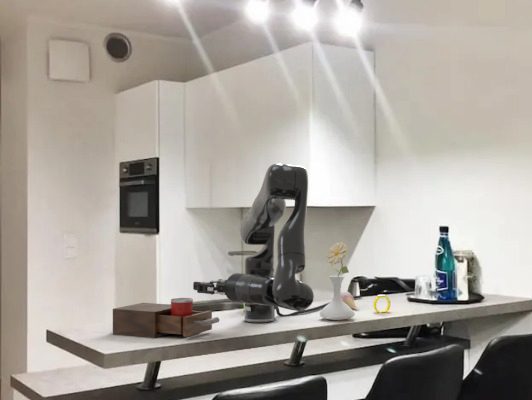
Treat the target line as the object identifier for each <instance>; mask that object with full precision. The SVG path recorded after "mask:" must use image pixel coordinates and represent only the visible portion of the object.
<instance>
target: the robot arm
mask: <svg viewBox="0 0 532 400" xmlns="http://www.w3.org/2000/svg"><path fill="white" fill-rule="evenodd" d="M308 193H309V174H308V171H307V169H306V168H305V167H304V166H303V165H298V164H288V163H273V164H271V165H269V166H268V168H267V170H266V172H265V175H264V178H263V180H262V184H261V187H260V189H259V191H258V194H257V195H256V197H255V198H254V200H253V202H252V204H251V207H250V209H249V211H248V212H247V213H246V214H245V215H244V217H243V218H242V219H241V222H240V226H239V237H240V240H241V242H242V243H243V244H245V245H247V246H262V248H261V249H260V250H259V251H258V252H256V253H254V254H252V255H251V254H250V255H249V256H246V257H245V259H244V273H239V272H236V273H232V274H231V275H230V276H228V278H227V279H224V278H219V279H218V280H217V279H215V280H213V279H212V280H210V281H193V284H192V289H193V290H194V291H196V293H198V294H206V295H221V296H226V298H227V299H228V301H230V302H232V303H238V304H244V321H245V322H247V323H257V324H259V323H261V324H262V323H271V322H274V321H275V317H276V316H275V315H277V316H278V317H280V318H283V317H285V318H286V317H293V316H297V315H301V314H307V313H310V312H315V311H318V310H322V309H323V308H324V307H325V306H326V305H328V304H329V303H330V302H331V301H329V302H326V303H324V304H321V305H318V306H315V307H312V308H310V307H311V306H312V304H313V302H314V300H315V294H314V291H313V288H312V287H311V286H310V285H309V284H307V283H306V282H303V281H302V280H298V279H297V278H296V275H298V274H301V273H302V272H304V270H306V265H307V260H306V259H307V258H306V241H305V239H306V237H305V235H306V221H307V208H308ZM287 200H288V201H291V200H292V201H294V206H293V210H292V212H291V214H290V215H289V217H288V219H287V221H286V222H285V224H284V225H283V226H282V228H281V230H280V232H279V234H278V237H277V240H276V224H277V223H279V221H280V220H281V219H282V217H283V216H284V213H285V212H286V208H287V202H286V201H287ZM275 241H276V252H277V253H276V258H277V259H276V261H277V265H276V269H275ZM352 296H353V298H354V300H355V299H361V298H362V295H361V294H359V295H352ZM280 308H281V309H284V310H285V309H286V310H290V311H293V312H290V313H287V314H283V313H281V312H280ZM275 313H276V314H275Z"/></svg>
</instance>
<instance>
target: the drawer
mask: <svg viewBox="0 0 532 400" xmlns="http://www.w3.org/2000/svg"><path fill="white" fill-rule="evenodd" d="M156 315H157V332H158V333H170V334H169V335H171V334H172V335H183V336H182V337H184V338H187V337H191V336H194V335H197V334H201V333H204V332H208V331H211V330H213V324H217V323H219V322H220V318H219V317H218V316H216V317H213V310H205V311H203V310H202V311H201V310H193V315H189V316H185V317H183V329H182V317H181V316H171V311H169V312H165V313H161V314H156Z"/></svg>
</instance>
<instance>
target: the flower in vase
mask: <svg viewBox="0 0 532 400" xmlns="http://www.w3.org/2000/svg"><path fill="white" fill-rule="evenodd" d="M328 249H329V250H328V251H327V254H326V258H327V259H326V260H327V263H329V264H330V267H331V268H332V269H333V270H335V271H336V272H337V273H338V274H337V275H329V276H328V277H329V279H330V280H331V283H332V286H333V289H332V290H333V295H332V296H333V297H332V299H331V301H329V302H330V303H329V302H328V303H329V304H328V305H326V306H325V307H324V308H321V309H320V311H319V316H320V317H321V318H323V319H325V320H330V321H331V320H333V321H343V320H349V319H351V318H353V317H355V314H356V313H355V311H354V309H353V308H351V307H349V306H348V305H347V304H345V303H344V302H343V301H342V299H341V293H342V289H341V288H342V283H343V280H344V279H345V277H346V276H345V275H342V274H348V273H350V272H349V269H348V266H347V265H345V266H343V265H344V264H343V260H344V259H345V258H346V255H348V245H347V244H346V243H344V242H342V241H340V242H335V244H332V246H331V247H329V248H328ZM339 263H341V267H340V270H339V269H338V268H336V267H334V266H333V265H336V264H339Z"/></svg>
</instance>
